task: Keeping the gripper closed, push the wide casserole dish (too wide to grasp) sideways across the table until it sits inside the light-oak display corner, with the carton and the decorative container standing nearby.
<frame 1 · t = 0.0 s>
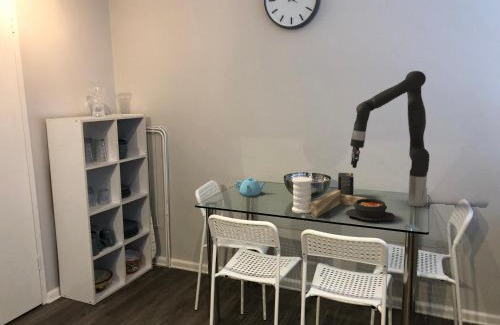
hand: (353, 166, 238), 22 cm above the table, tool pointing down, fingers open, 8 cm apart
tampon box: (345, 197, 255), on the table
oak display corner: (326, 209, 233), on the table
casserole: (369, 218, 218), on the table
teapot: (250, 194, 269), on the table
decorative container: (302, 210, 233), on the table
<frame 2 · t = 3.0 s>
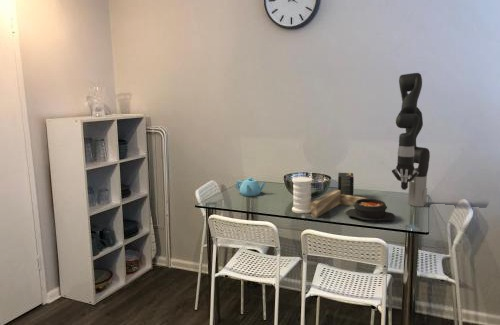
hand: (404, 189, 204), 18 cm above the table, tool pointing down, fingers closed
nothing on the table moved.
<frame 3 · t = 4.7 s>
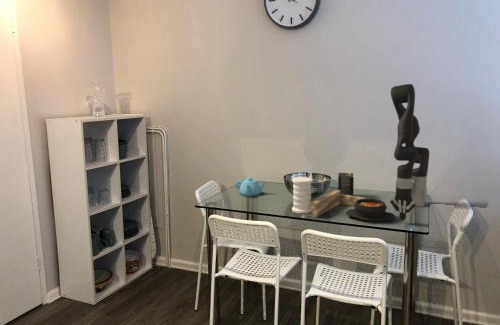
hand: (402, 219, 208), 2 cm above the table, tool pointing down, fingers closed
nothing on the table moved.
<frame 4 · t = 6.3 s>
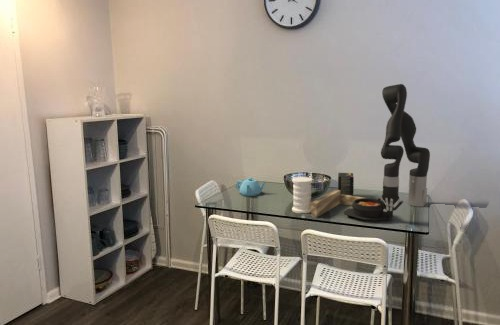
hand: (389, 217, 211), 2 cm above the table, tool pointing down, fingers closed
casserole: (367, 217, 219), on the table, touching gripper
everything else where it was.
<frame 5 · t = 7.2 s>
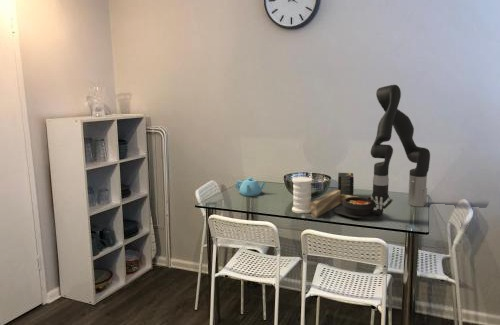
hand: (379, 215, 214), 2 cm above the table, tool pointing down, fingers closed
casserole: (358, 215, 221), on the table, touching gripper
everything else where it was.
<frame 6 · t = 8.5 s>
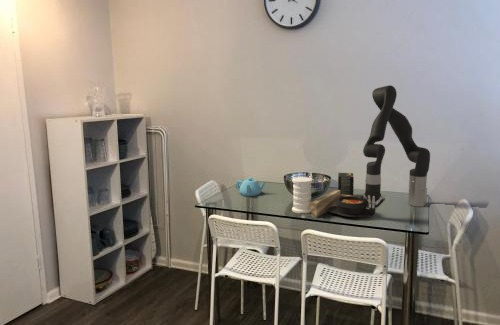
hand: (372, 214, 217), 2 cm above the table, tool pointing down, fingers closed
casserole: (351, 214, 224), on the table, touching gripper
everything else where it was.
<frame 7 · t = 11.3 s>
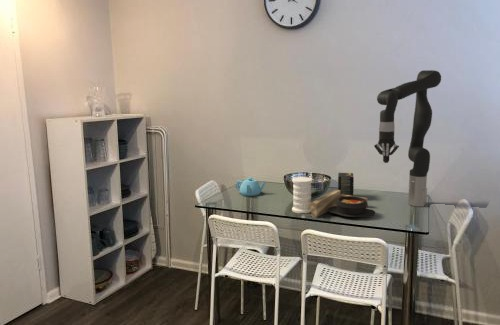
hand: (386, 162, 219), 28 cm above the table, tool pointing down, fingers closed
casserole: (351, 214, 224), on the table
everything else where it was.
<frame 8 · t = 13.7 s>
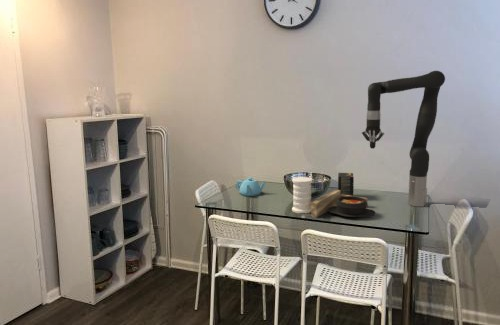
hand: (372, 148, 239), 32 cm above the table, tool pointing down, fingers closed
nothing on the table moved.
at the end: casserole inside the target area (2.3 cm from its centre), on the table; casserole tilted 0° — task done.
